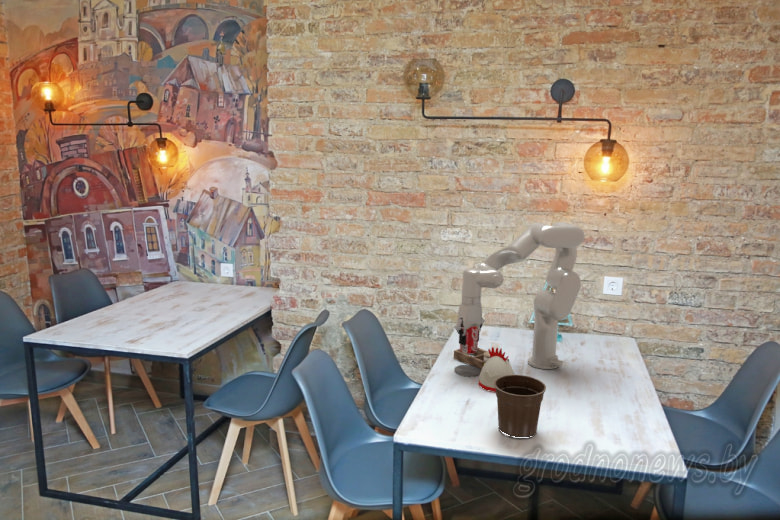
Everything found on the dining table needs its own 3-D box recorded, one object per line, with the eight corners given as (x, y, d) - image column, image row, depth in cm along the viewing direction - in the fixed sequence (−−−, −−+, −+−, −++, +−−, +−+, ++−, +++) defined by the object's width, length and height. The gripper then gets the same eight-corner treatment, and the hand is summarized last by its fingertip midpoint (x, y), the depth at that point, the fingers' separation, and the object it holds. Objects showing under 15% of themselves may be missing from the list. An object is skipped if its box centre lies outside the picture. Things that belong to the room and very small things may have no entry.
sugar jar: (498, 366, 249) (499, 354, 248) (490, 370, 246) (490, 357, 245) (488, 363, 253) (489, 350, 252) (480, 365, 250) (480, 353, 249)
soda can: (477, 350, 245) (479, 321, 243) (476, 356, 238) (478, 327, 236) (460, 348, 246) (461, 320, 244) (458, 354, 240) (460, 325, 237)
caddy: (508, 367, 249) (509, 359, 248) (490, 373, 242) (491, 365, 241) (471, 352, 264) (471, 345, 264) (453, 358, 258) (453, 350, 257)
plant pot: (510, 447, 186) (513, 398, 182) (482, 424, 200) (484, 378, 197) (552, 437, 192) (556, 390, 189) (522, 415, 206) (525, 371, 203)
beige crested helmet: (488, 375, 241) (490, 339, 238) (520, 383, 233) (523, 346, 230) (472, 386, 230) (474, 349, 227) (505, 395, 222) (508, 357, 219)
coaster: (487, 372, 243) (487, 371, 243) (468, 378, 237) (468, 377, 236) (467, 364, 252) (467, 362, 252) (448, 370, 245) (448, 369, 245)
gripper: (479, 294, 246) (476, 335, 250) (448, 300, 235) (446, 344, 239) (493, 298, 240) (490, 340, 244) (462, 305, 229) (460, 349, 233)
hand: (468, 342), depth 241 cm, fingers closed on soda can, 7 cm apart
